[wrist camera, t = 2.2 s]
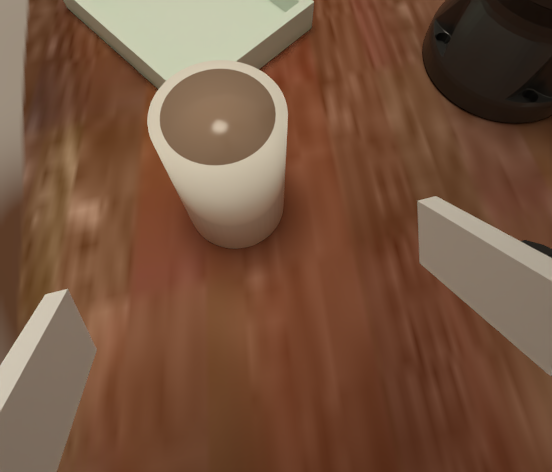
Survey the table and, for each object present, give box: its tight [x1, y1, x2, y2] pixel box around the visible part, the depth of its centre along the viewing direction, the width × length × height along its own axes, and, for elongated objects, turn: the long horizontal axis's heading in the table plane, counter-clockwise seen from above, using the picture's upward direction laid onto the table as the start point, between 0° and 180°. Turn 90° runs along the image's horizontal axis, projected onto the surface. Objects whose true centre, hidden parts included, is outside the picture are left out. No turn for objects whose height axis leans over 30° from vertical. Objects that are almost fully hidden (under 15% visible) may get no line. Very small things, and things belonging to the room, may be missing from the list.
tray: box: [63, 0, 314, 89], centre depth 40 cm, size 16×20×3 cm
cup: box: [147, 60, 288, 249], centre depth 29 cm, size 8×8×12 cm
